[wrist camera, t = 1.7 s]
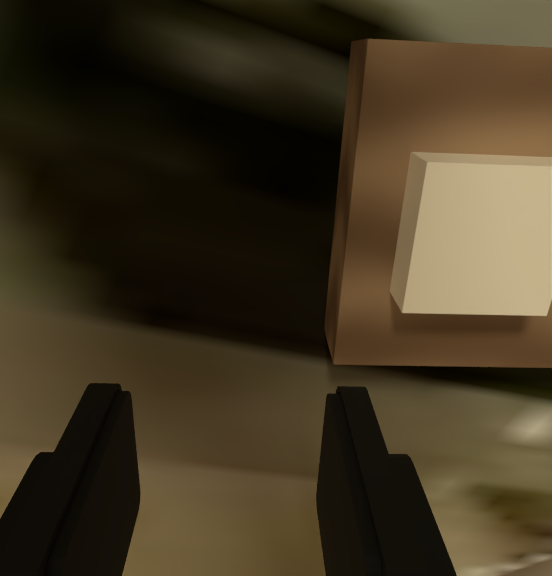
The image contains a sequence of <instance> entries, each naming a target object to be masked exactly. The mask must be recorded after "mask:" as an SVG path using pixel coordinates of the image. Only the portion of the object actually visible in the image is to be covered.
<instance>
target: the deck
mask: <svg viewBox="0 0 552 576" xmlns="http://www.w3.org/2000/svg"><path fill="white" fill-rule="evenodd" d="M411 152H427V153H454V154H480V155H507V156H533V157H552V48H544V47H524V46H504V45H484V44H464V43H443V42H423V41H403V40H383V39H364V40H357V41H351V51H350V61H349V72H348V82H347V93H346V103H345V114H344V124H343V135H342V146H341V156H340V167H339V177H338V188H337V198H336V209H335V219H334V230H333V241H332V251H331V262H330V272H329V283H328V293H327V304H326V314H325V325H324V330H325V334H326V338H327V342H328V346H329V350H330V354H331V358H332V361H333V365H393V366H460V367H527V368H552V300H551V304H550V307H549V310H548V313H547V316H524V315H476V314H427V313H402V312H401V310H400V308H399V307H398V305H397V303H396V302H395V300H394V298H393V296H392V295H391V293H390V285H391V279H392V272H393V266H394V259H395V253H396V246H397V239H398V233H399V226H400V220H401V213H402V206H403V200H404V193H405V187H406V180H407V173H408V167H409V160H410V154H411Z"/></svg>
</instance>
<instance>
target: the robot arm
mask: <svg viewBox="0 0 552 576" xmlns="http://www.w3.org/2000/svg"><path fill="white" fill-rule="evenodd" d="M316 502H317V514H318V521H319V528H320V536H321V543H322V550H323V557H324V565H325V572H326V576H457V575H456V572H455V570H454V567H453V565H452V562H451V559H450V557H449V554H448V552H447V549H446V547H445V544H444V541H443V539H442V536H441V534H440V531H439V529H438V526H437V523H436V521H435V518H434V516H433V513H432V511H431V508H430V505H429V503H428V500H427V498H426V495H425V493H424V490H423V487H422V485H421V482H420V480H419V477H418V475H417V472H416V469H415V467H414V464H413V462H412V460H411V458H410V457H409V456H408V455H407V454H388V451H387V448H386V445H385V442H384V439H383V436H382V433H381V430H380V427H379V424H378V421H377V418H376V415H375V412H374V409H373V406H372V403H371V400H370V397H369V394H368V391H367V389H366V387H345V386H338V387H337V390H336V394H327V397H326V406H325V415H324V425H323V434H322V444H321V454H320V463H319V473H318V483H317V493H316ZM139 504H140V483H139V472H138V462H137V451H136V441H135V430H134V420H133V409H132V399H131V393H130V392H129V391H122V389H121V386H120V384H107V383H91V384H89V385H88V386H87V388H86V390H85V392H84V394H83V396H82V398H81V400H80V402H79V404H78V406H77V408H76V410H75V412H74V414H73V416H72V418H71V419H70V421H69V423H68V425H67V427H66V429H65V431H64V433H63V435H62V437H61V439H60V441H59V443H58V445H57V447H56V449H55V451H54V452H40V453H39V454H38V455H36V456H35V458H34V459H33V461H32V462H31V464H30V466H29V468H28V469H27V471H26V473H25V475H24V477H23V479H22V480H21V482H20V484H19V486H18V488H17V489H16V491H15V493H14V495H13V497H12V499H11V500H10V502H9V504H8V506H7V508H6V509H5V511H4V513H3V515H2V517H1V519H0V576H122V573H123V569H124V565H125V561H126V557H127V553H128V549H129V546H130V542H131V538H132V534H133V530H134V526H135V522H136V518H137V514H138V510H139Z"/></svg>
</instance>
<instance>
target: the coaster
mask: <svg viewBox="0 0 552 576" xmlns="http://www.w3.org/2000/svg"><path fill="white" fill-rule="evenodd" d="M390 293H391V295H392V296H393V298H394V300H395V302H396V303H397V305H398V307H399V308H400V310H401V312H402V313H427V314H476V315H524V316H547V313H548V310H549V307H550V304H551V300H552V157H533V156H507V155H480V154H454V153H427V152H411V154H410V160H409V167H408V173H407V180H406V187H405V193H404V200H403V206H402V213H401V220H400V226H399V233H398V239H397V246H396V253H395V259H394V266H393V272H392V279H391V285H390Z"/></svg>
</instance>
